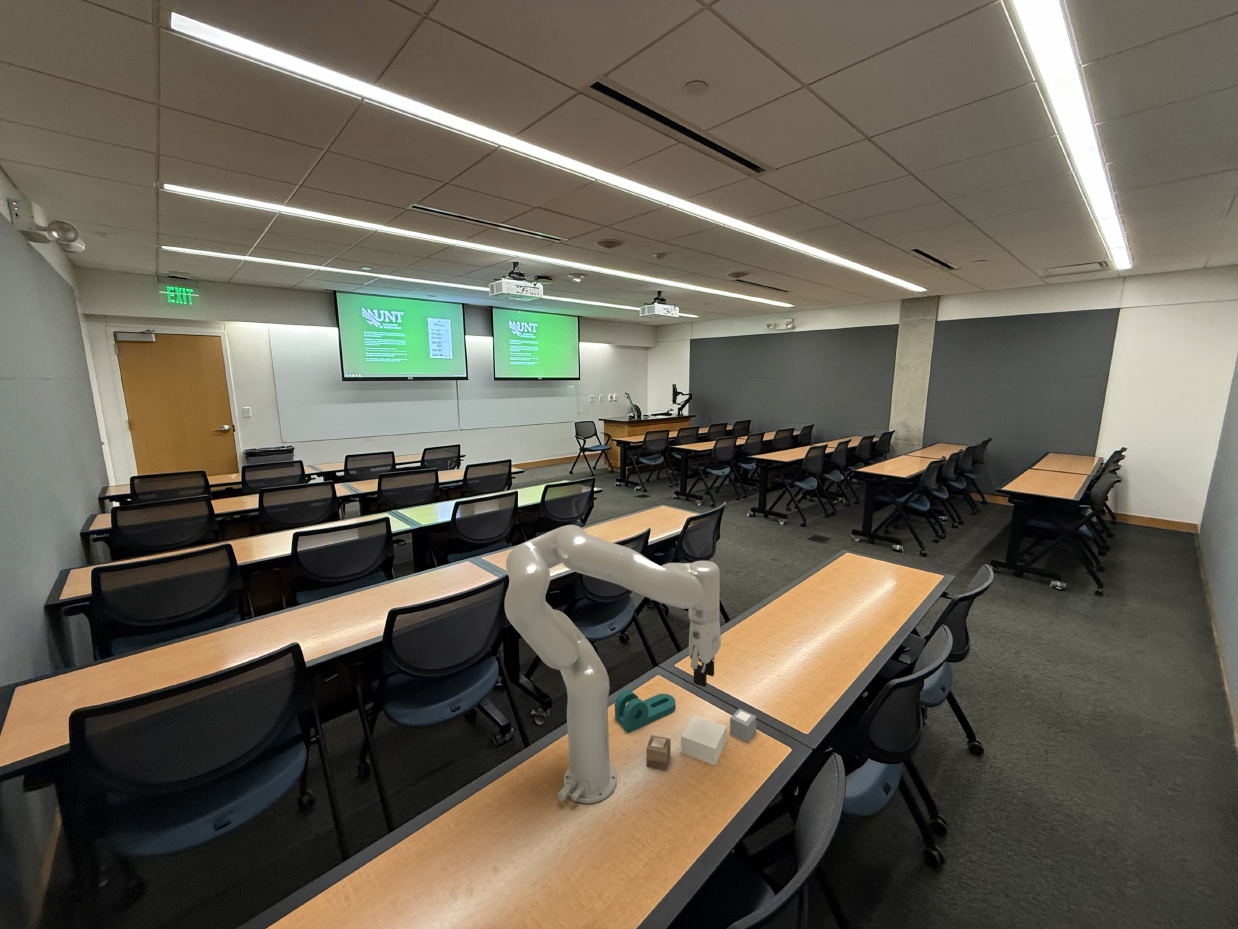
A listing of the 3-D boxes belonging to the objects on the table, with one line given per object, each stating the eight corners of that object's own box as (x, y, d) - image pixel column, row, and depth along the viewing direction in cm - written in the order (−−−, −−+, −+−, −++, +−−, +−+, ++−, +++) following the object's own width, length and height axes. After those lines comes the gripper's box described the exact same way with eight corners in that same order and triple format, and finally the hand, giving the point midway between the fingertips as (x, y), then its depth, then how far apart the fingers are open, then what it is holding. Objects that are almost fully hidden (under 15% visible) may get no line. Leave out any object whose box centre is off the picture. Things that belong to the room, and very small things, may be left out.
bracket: (627, 734, 129) (627, 708, 128) (615, 720, 135) (614, 694, 134) (680, 710, 139) (679, 685, 137) (666, 697, 144) (665, 673, 143)
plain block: (715, 767, 117) (715, 748, 117) (681, 754, 122) (681, 736, 121) (726, 743, 125) (726, 726, 124) (694, 732, 130) (694, 715, 129)
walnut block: (666, 771, 116) (666, 751, 116) (646, 767, 118) (646, 747, 117) (670, 756, 121) (670, 737, 120) (651, 752, 123) (651, 733, 122)
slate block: (747, 743, 125) (747, 725, 124) (730, 734, 128) (730, 716, 127) (756, 733, 128) (756, 715, 127) (739, 725, 132) (739, 707, 131)
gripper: (705, 629, 109) (705, 703, 112) (730, 601, 123) (729, 667, 126) (675, 622, 113) (676, 693, 116) (702, 595, 127) (703, 659, 130)
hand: (704, 678), depth 121 cm, fingers open, 4 cm apart
